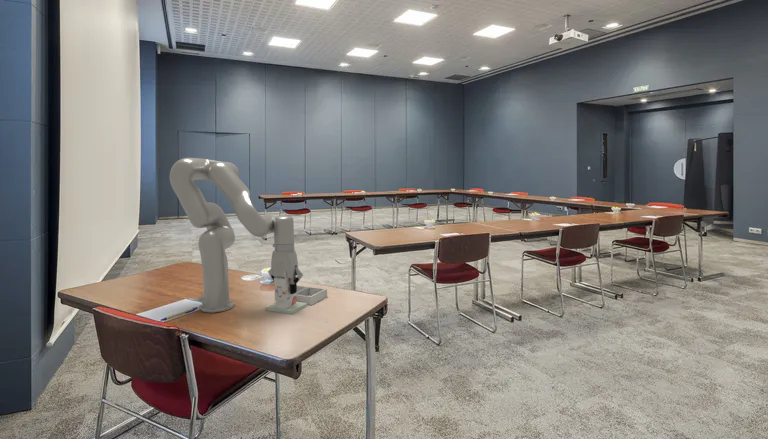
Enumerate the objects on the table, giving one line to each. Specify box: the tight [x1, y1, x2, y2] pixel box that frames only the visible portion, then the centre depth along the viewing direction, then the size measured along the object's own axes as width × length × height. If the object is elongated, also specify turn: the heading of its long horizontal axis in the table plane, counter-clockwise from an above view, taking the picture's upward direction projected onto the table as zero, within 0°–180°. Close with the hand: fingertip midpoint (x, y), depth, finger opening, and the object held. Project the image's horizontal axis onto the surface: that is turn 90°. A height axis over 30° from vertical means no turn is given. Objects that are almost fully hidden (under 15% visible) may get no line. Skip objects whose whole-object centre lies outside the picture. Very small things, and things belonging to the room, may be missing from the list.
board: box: [265, 302, 308, 315], centre depth 171 cm, size 12×10×1 cm
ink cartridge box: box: [273, 271, 296, 309], centre depth 169 cm, size 9×5×15 cm, turn 166°
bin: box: [295, 285, 328, 306], centre depth 183 cm, size 18×13×4 cm
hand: (285, 292), depth 170 cm, fingers open, 6 cm apart
